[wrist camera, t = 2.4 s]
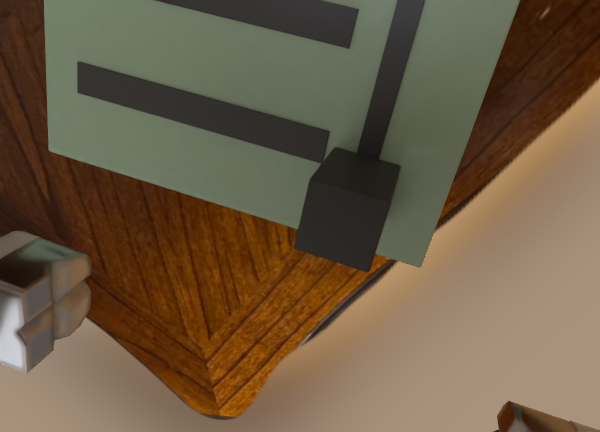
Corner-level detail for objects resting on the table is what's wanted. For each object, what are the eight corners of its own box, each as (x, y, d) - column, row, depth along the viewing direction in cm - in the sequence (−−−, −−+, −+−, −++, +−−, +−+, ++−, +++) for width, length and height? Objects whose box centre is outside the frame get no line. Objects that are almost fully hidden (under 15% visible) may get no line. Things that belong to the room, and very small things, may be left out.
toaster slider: (401, 164, 17) (391, 202, 13) (382, 225, 18) (368, 273, 14) (334, 145, 17) (309, 177, 14) (319, 206, 18) (293, 249, 15)
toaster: (495, -33, 26) (546, -68, 13) (431, 156, 31) (420, 269, 18) (224, -90, 29) (35, -169, 16) (204, 93, 34) (46, 151, 20)
